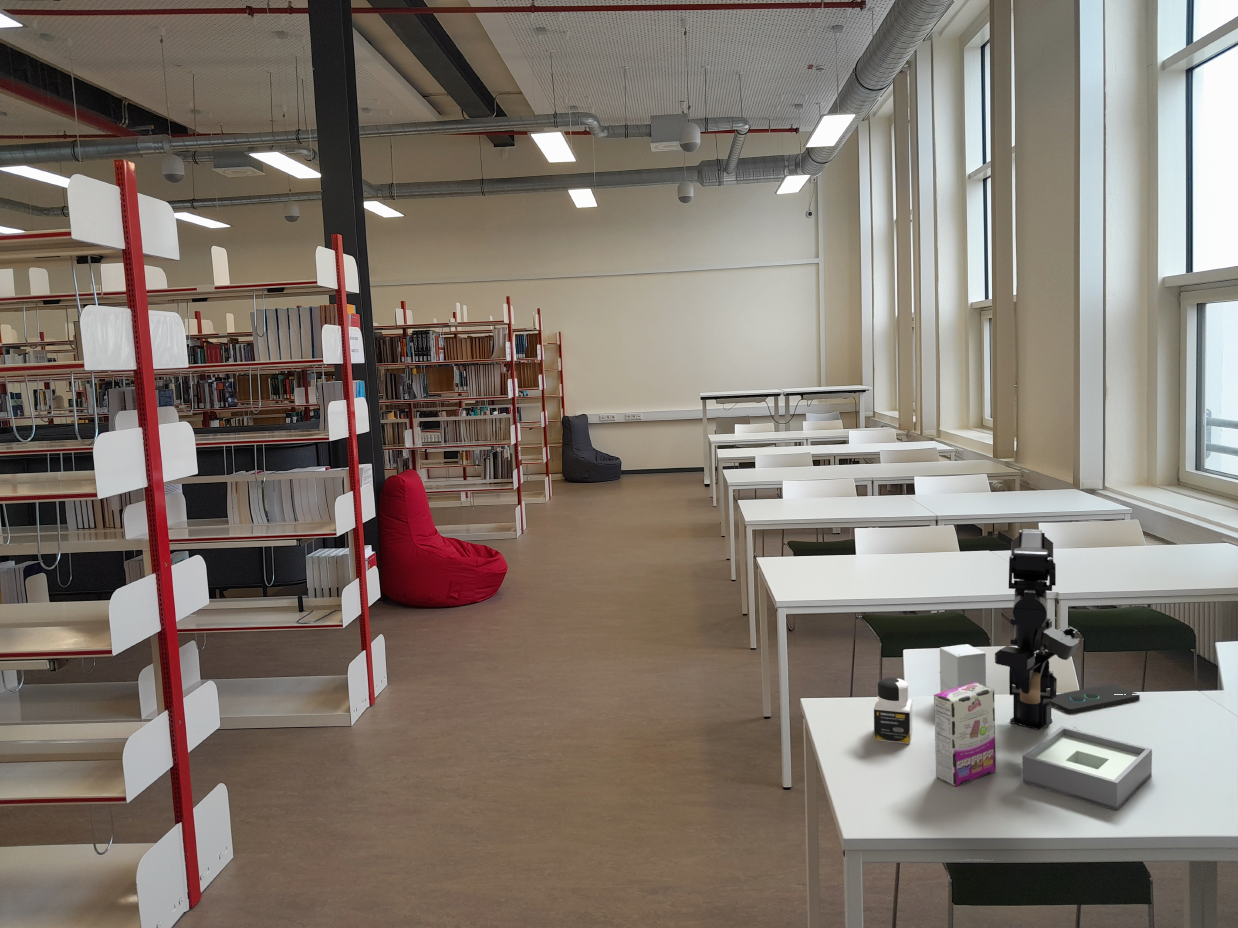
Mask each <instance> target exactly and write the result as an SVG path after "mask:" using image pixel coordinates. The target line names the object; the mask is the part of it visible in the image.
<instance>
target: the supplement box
mask: <svg viewBox="0 0 1238 928" xmlns="http://www.w3.org/2000/svg"><path fill="white" fill-rule="evenodd" d="M986 657H987V656H986V652H984V651H982V650H980V649H978V648H976V647H974V646H972V645H971V644H967V643H966V644H957V645H951V646H942V647H939V681H940V682H939V687H940V689H939V693H941V692H944V691H947V690H951V689H954V688H957V687H961V686H964V685H967V684H971V683H974V682H975V683H980V684H981V685H985V686H987V673H986V671H987V670H986V669H987V667H986V663H987V662H986V659H987V658H986Z"/></svg>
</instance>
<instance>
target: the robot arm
mask: <svg viewBox="0 0 1238 928" xmlns="http://www.w3.org/2000/svg"><path fill="white" fill-rule="evenodd" d="M1018 533H1019V534H1018V536H1017V537H1015V538H1014V539H1013V540H1011V547H1010V549H1011V554H1010V555H1009V559H1008V589H1010V590H1014V601H1013V607H1012V608H1013V609H1012V615H1013V617H1012V618H1010V625H1014V637H1011V638H1010V645H1014V646H1009V645H1006V646H1004V647H1002V648H1000V649H999V650H997V651H996V652H994V663H995V664H996V665H999V666H1004V667H1009V673H1008V674H1009V676H1008V677H1009V681H1008V682H1009V683H1008V684H1009V696H1013V703H1012V705H1013V714H1012V715H1013V716H1012V717H1011V718H1010V719H1009V722H1010V723H1012V724H1016V725H1020V726H1024V727H1028V728H1032V729H1035V730H1039V731H1040V730H1042V729H1043V728H1046V726H1047V725H1049V724H1051V723H1052V722H1053V719H1052V706H1051V703H1049V699H1050V700H1053V698H1055V697H1056V694H1057V688H1058V687H1057V682H1058V681H1057V679H1058V678H1057V677H1056V676H1055V674H1054V671H1053V670H1050V661H1049V660H1050V659H1051V658H1053V657H1054V656H1057V657H1058V659H1060V660H1062V661H1063V660H1064V661H1068V660H1069V659H1070V658H1071V657H1074V655H1075V653H1076V650H1077V648H1078V647H1080V646H1081V642H1080V640H1081V638H1079V634H1078V633H1079V632H1078V631H1079V630H1078V629H1076V628H1074V627H1073V626H1070V627H1067V628H1066V629H1065V630H1063V631H1062V629H1061V628H1059V629H1056V628H1055V627H1053V621H1052V620H1051V618H1050V617H1049V618H1047V614H1048V612H1047V611H1048V610H1047V609H1048V608H1047V606H1048V605H1047V602H1048V601H1047V600H1048V599H1047V597H1048V596H1047V595H1048V593H1047V592H1053V587H1054V586H1056V583H1057V579H1056V568H1057V565H1056V563H1055V561H1054V542H1053V541H1051V539H1049V538H1048V537H1047V536H1046V535H1045V533H1046V532H1045V530H1042V529H1029V528H1028V529H1027V528H1023V529H1020V530H1019V532H1018ZM1013 579H1014V580H1013ZM1015 646H1017V647H1015ZM1033 671H1035V672H1038V673H1040V703H1038V704H1028V703H1024V702H1022V701H1021V700H1020V688H1021V690H1022V692H1023V693H1025V694H1029V691H1030V686H1031V680H1032V673H1033Z"/></svg>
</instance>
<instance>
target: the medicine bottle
mask: <svg viewBox="0 0 1238 928" xmlns="http://www.w3.org/2000/svg"><path fill="white" fill-rule="evenodd" d="M873 733H874V734H873V738H874V740H875V741H878V742H888V743H897V744H905V745H910V744H911V740H912V734H913V700H912V698H909V684H908V683H907V681H905V680H904V679H901V678H898V677H885V678H882V679H879V681H878V682H877V697H876V699H875V703H874V707H873Z"/></svg>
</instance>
